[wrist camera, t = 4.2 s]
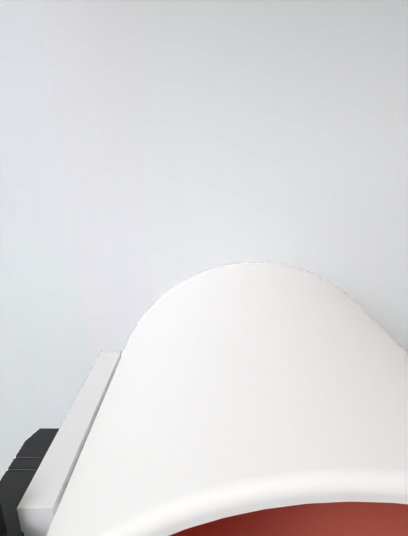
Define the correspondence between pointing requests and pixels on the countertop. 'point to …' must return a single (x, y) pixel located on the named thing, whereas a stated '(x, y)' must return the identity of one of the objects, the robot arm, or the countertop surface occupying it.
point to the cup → (248, 417)
